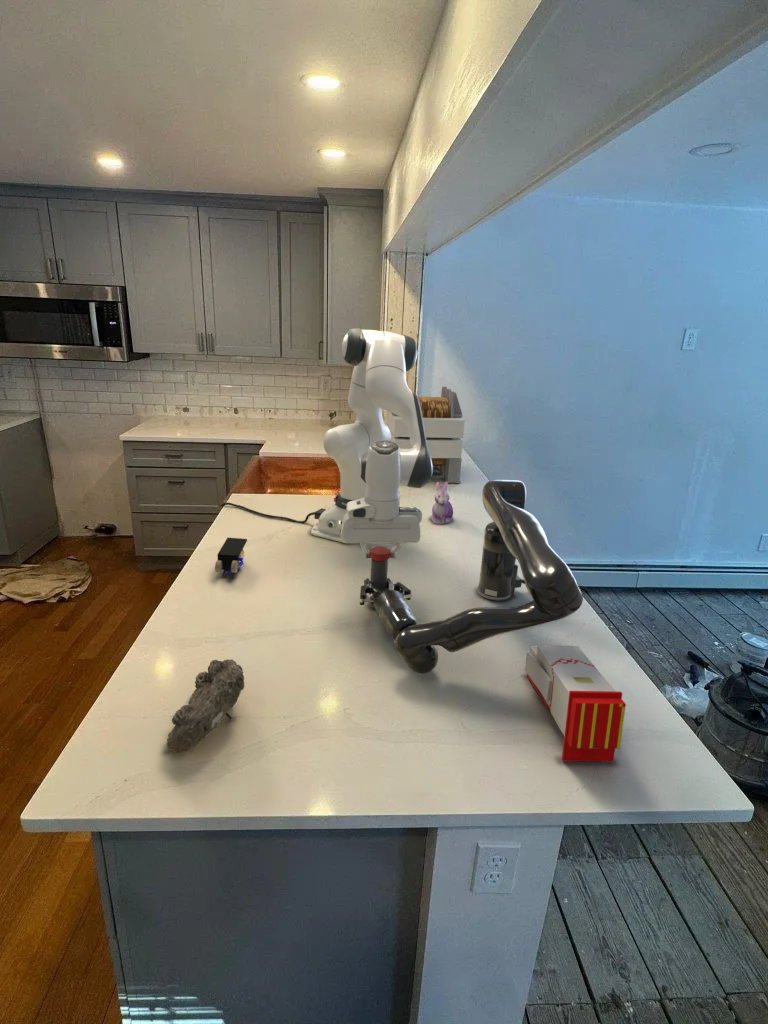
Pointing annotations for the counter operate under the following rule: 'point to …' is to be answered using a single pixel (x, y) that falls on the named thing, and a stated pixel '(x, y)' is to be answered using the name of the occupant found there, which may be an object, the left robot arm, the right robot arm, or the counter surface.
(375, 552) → the lid
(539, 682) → the toy
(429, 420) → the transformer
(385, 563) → the jar
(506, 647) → the counter surface
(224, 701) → the fossil
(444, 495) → the figurine
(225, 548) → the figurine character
